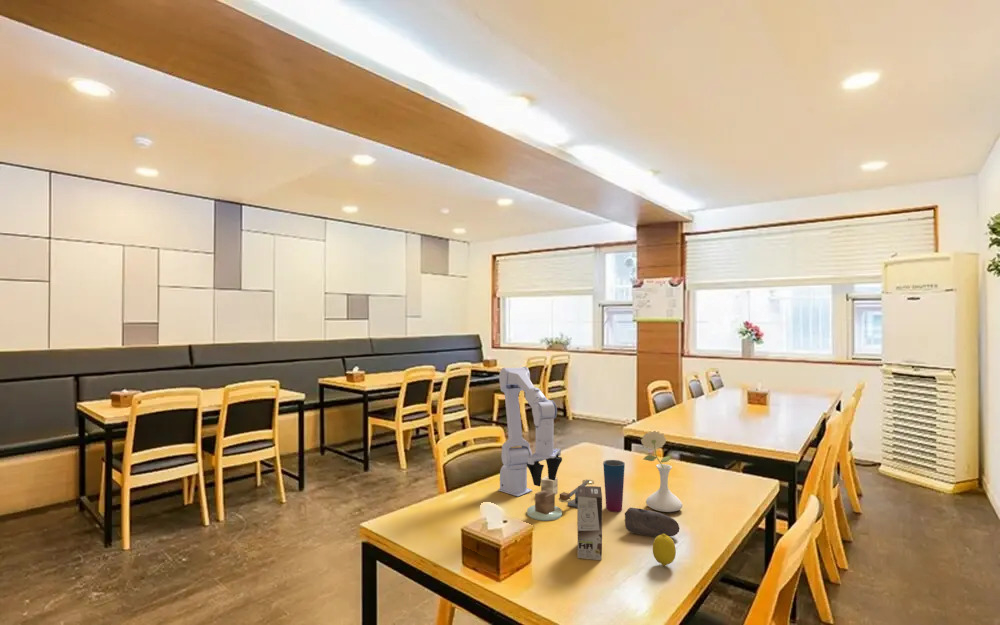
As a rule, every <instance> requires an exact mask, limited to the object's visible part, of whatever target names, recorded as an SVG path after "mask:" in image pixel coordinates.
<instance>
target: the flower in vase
mask: <svg viewBox="0 0 1000 625" xmlns="http://www.w3.org/2000/svg"><path fill="white" fill-rule="evenodd" d="M666 440H667V439H666V438H665V434H664V433H660V431H656V430H653V431H651V430H650V431H648V432H645V434H644V435H643V436H642V438H641V439H640V442H641V445H642V446H643V447H644V448H645V449H649V450H653V451H654V455H653V454H647V455H646V456H644V458H643V459H642V460H645V461H649V462H654V461H655V460H656V459H657V461H658V462H659V464H656V465H655V466H656V469H657V470H658V473H659V477H660V478H659V479H660V483H659V484H660V487H659V488H658V489H657V490H656V491H654V492H653V493H651V494H650V495H649V496H648V497H647V498H646V499H645V503H646V505H647V507H649V508H650V509H653V510H655V511H658V512H663V513H665V512H666V513H673V512H677V511H678V512H679V511H680V510H681V509H682V508H683V505H684V504H683V503H682V500H680V499H679V497H678V496H676V495H675V494H674V492H673V493H672V491H671V490H670V489H669V486H668V485H669V483H668V482H669V481H668V479H669V473H670V471H671V470H672V468H673V466H672V465H670V464H666V463H667V462H669V461H670V460H671V459H672V457H673V454H670V455H667V456H664V457H662V459H661V461H660V459H659V458H658V456H657V451H656V450H658V449H661V448H663V447H664V446H665V444H666V442H667V441H666Z"/></svg>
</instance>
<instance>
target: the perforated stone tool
mask: <svg viewBox="0 0 1000 625" xmlns="http://www.w3.org/2000/svg"><path fill="white" fill-rule="evenodd" d="M623 521H624V525H625V528H626V530H627V531H628V532H630V533H633V534H637V535H640V536H641V535H642V536H647V537H649V536H650V537H657V536H659V535H662V534H666V535H667V536H669V537H670V538H672V537H674V536H676V535H678V533H679V532H680V530H681V529H680V525H679V523H678V521H677V520H676V519H674V518H673V517H671V516H670V515H666V514H664V513H661V512H659V511H658V512H657V511H653V510H650V509H644V508H636V507H629V508H627V510H626V511H625V512H624V520H623Z"/></svg>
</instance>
